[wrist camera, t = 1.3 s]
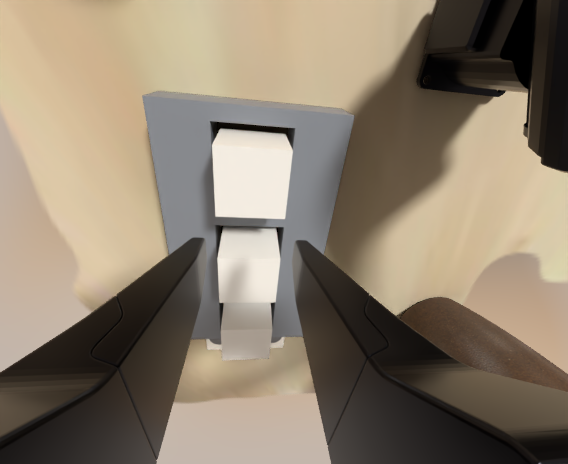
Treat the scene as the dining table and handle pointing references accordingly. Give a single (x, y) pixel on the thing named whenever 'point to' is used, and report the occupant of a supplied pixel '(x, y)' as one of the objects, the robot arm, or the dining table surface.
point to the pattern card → (216, 344)
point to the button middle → (248, 264)
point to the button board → (200, 185)
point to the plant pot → (481, 343)
